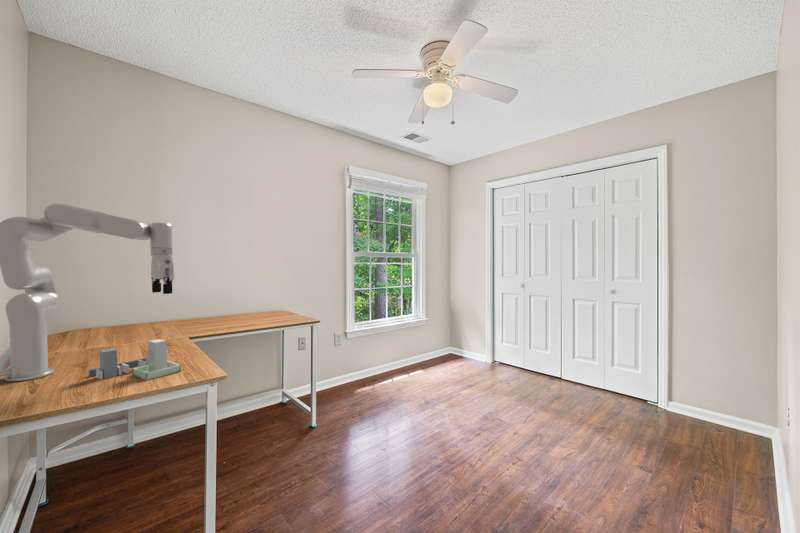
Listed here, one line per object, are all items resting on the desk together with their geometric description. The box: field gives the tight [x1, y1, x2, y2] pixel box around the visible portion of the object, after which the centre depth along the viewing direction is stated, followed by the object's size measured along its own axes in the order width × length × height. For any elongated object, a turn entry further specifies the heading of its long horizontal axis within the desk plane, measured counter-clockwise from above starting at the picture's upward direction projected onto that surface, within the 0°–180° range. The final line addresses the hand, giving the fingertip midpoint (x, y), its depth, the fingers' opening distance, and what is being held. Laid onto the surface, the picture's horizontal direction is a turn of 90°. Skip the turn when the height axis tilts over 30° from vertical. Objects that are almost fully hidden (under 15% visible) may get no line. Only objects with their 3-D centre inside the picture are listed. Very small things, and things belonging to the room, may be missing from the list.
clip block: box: [88, 357, 148, 381], centre depth 136 cm, size 24×11×3 cm, turn 148°
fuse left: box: [99, 347, 118, 380], centre depth 129 cm, size 4×4×10 cm
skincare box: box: [147, 338, 168, 372], centre depth 133 cm, size 6×4×12 cm
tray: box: [132, 360, 182, 381], centre depth 133 cm, size 12×11×2 cm
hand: (162, 292), depth 143 cm, fingers open, 9 cm apart
